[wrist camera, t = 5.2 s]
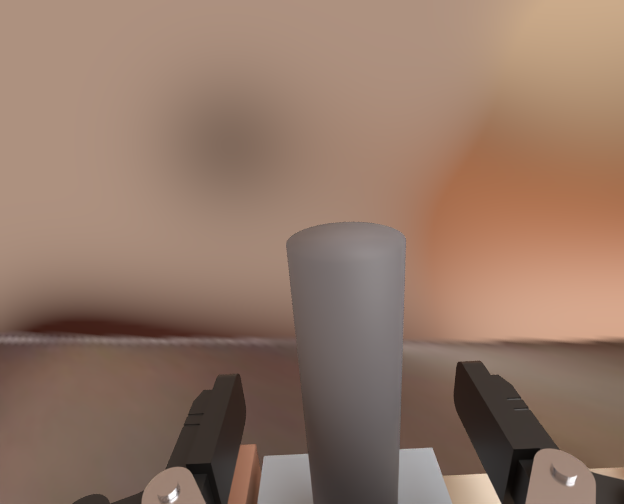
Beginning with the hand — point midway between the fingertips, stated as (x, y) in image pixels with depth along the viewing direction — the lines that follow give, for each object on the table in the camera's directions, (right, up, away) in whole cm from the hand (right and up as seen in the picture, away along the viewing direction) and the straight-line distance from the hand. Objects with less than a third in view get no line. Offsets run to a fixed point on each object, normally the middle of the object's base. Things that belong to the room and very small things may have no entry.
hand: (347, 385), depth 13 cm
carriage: (+1, -9, +1) cm, 9 cm away
